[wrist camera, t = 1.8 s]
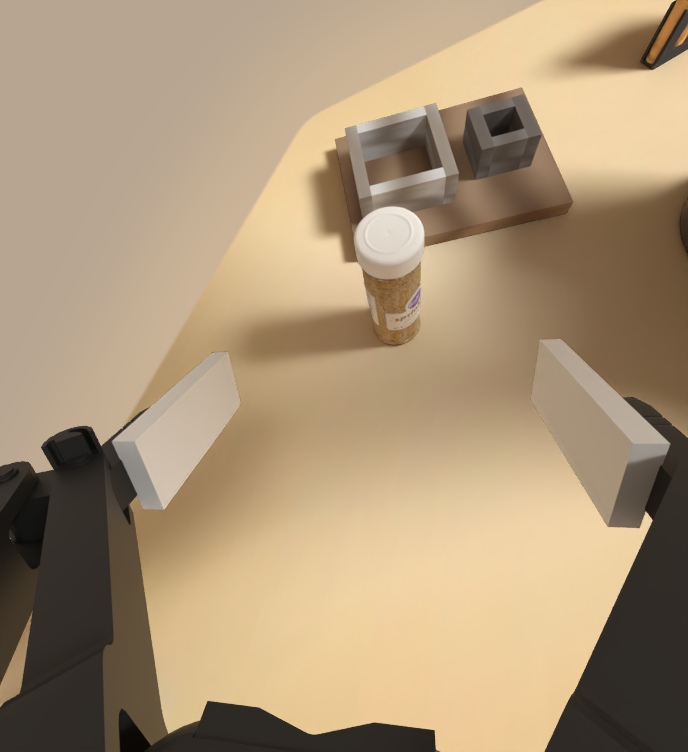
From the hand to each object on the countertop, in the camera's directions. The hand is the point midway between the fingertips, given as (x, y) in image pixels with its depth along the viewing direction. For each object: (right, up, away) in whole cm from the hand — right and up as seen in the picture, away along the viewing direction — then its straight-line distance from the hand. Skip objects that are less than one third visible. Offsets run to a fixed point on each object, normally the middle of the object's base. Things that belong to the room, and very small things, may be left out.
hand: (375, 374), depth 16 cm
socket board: (+9, +22, +24) cm, 34 cm away
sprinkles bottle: (+4, +5, +20) cm, 21 cm away
